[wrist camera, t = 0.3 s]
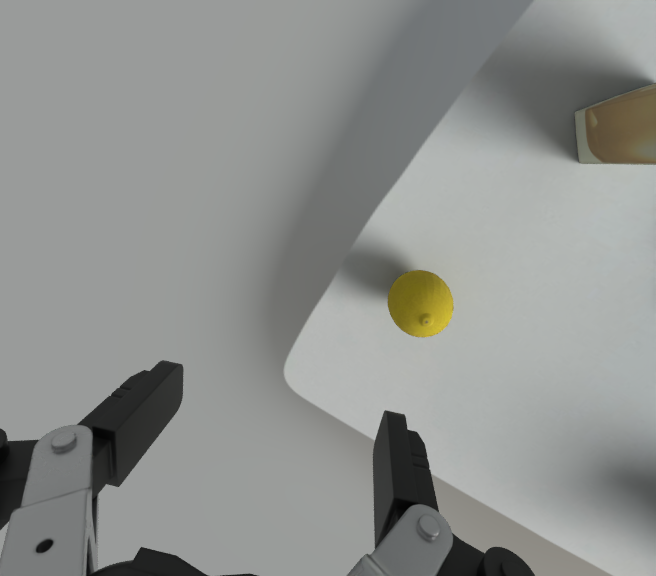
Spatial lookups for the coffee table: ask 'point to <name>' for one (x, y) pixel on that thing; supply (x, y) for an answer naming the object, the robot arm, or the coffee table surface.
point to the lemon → (420, 303)
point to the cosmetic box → (619, 129)
